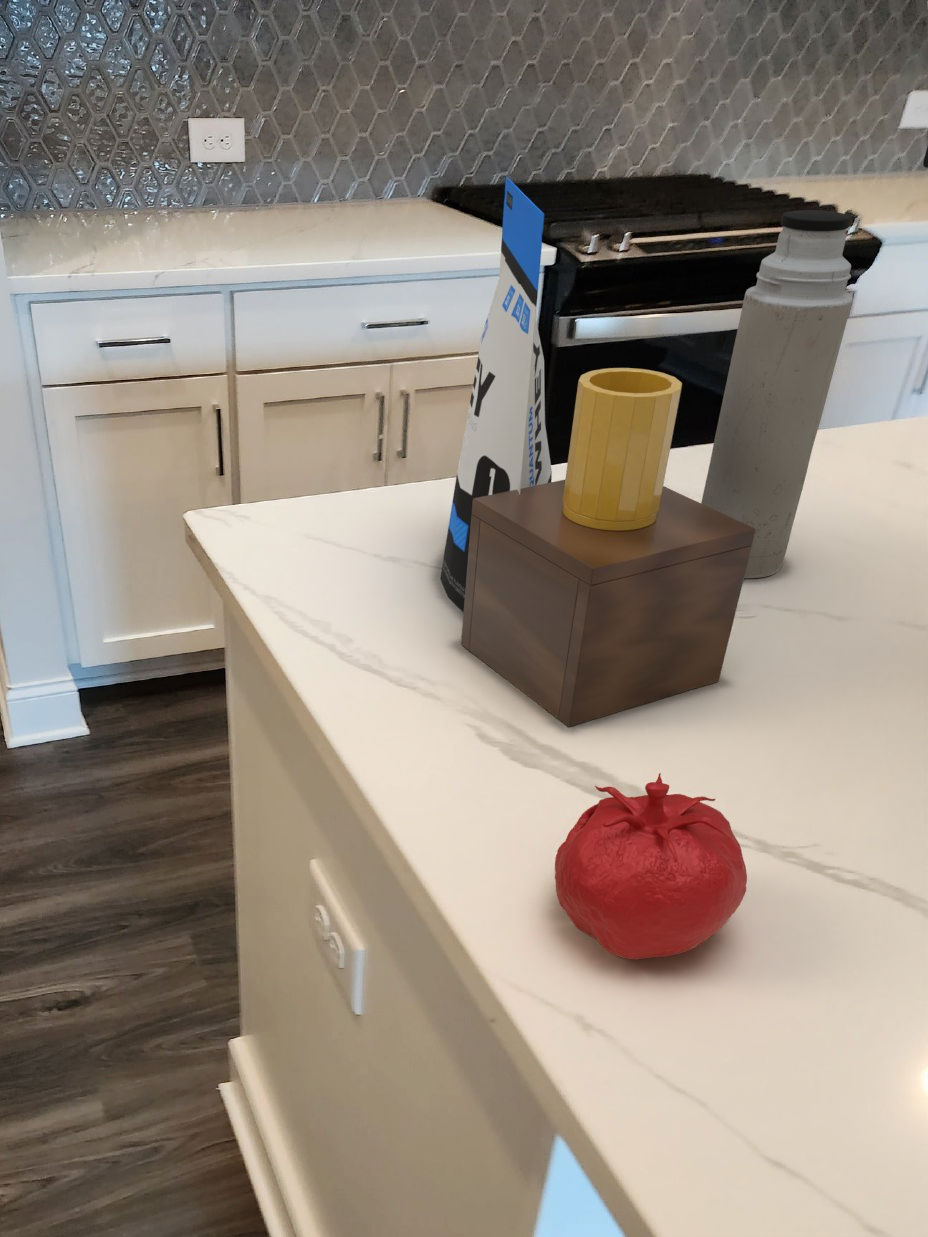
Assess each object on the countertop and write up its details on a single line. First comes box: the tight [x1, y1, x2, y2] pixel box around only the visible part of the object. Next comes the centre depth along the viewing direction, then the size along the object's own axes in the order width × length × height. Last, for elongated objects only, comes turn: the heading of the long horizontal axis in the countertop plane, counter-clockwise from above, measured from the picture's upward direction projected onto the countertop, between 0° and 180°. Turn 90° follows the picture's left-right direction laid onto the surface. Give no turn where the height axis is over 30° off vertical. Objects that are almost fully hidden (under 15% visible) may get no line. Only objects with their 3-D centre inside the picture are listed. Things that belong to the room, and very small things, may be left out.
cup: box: [562, 367, 683, 531], centre depth 75 cm, size 7×7×9 cm
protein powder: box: [439, 176, 553, 614], centre depth 89 cm, size 10×24×30 cm, turn 177°
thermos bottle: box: [700, 209, 853, 579], centre depth 92 cm, size 8×8×28 cm
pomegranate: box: [554, 772, 748, 960], centre depth 59 cm, size 10×10×9 cm
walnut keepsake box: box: [460, 479, 756, 727], centre depth 82 cm, size 14×14×12 cm
